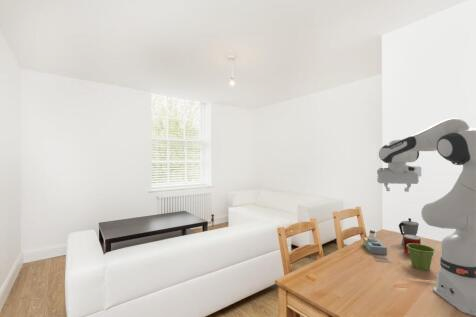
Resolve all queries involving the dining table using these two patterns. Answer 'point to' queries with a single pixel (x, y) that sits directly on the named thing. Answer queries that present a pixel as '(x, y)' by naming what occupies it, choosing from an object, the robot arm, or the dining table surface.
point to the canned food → (410, 241)
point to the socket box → (375, 246)
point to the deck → (381, 258)
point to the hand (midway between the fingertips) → (397, 191)
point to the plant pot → (420, 255)
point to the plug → (372, 236)
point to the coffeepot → (408, 228)
